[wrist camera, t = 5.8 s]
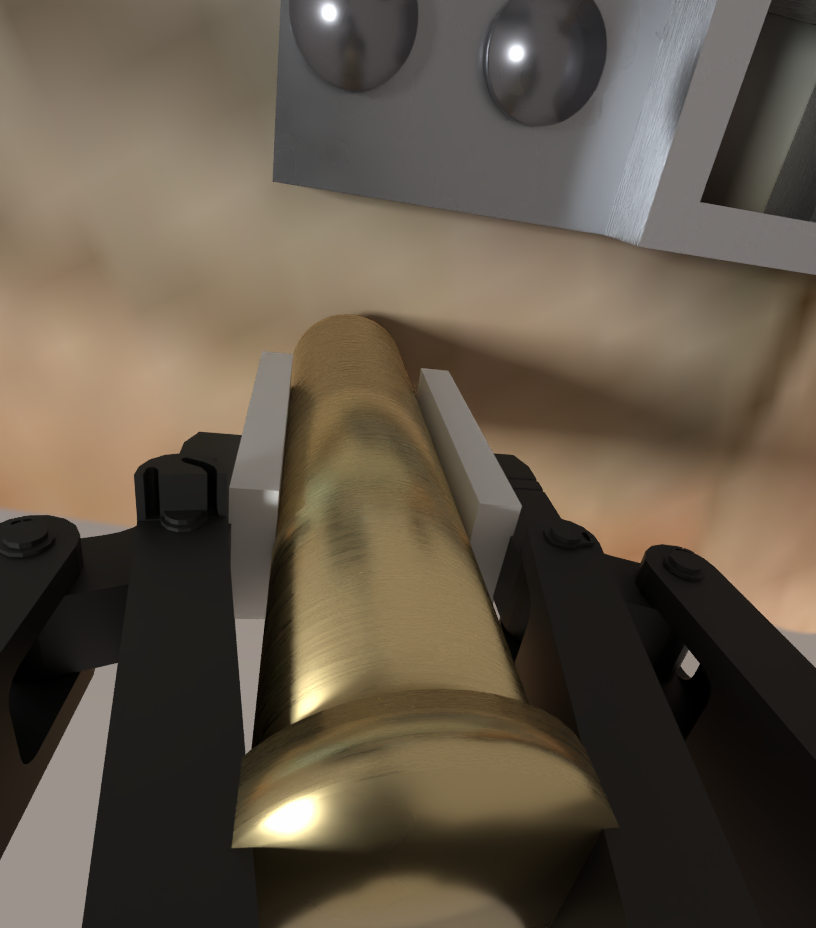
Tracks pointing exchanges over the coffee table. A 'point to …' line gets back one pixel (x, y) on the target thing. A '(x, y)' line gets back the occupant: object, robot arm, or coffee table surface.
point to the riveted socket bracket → (541, 115)
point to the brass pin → (395, 685)
